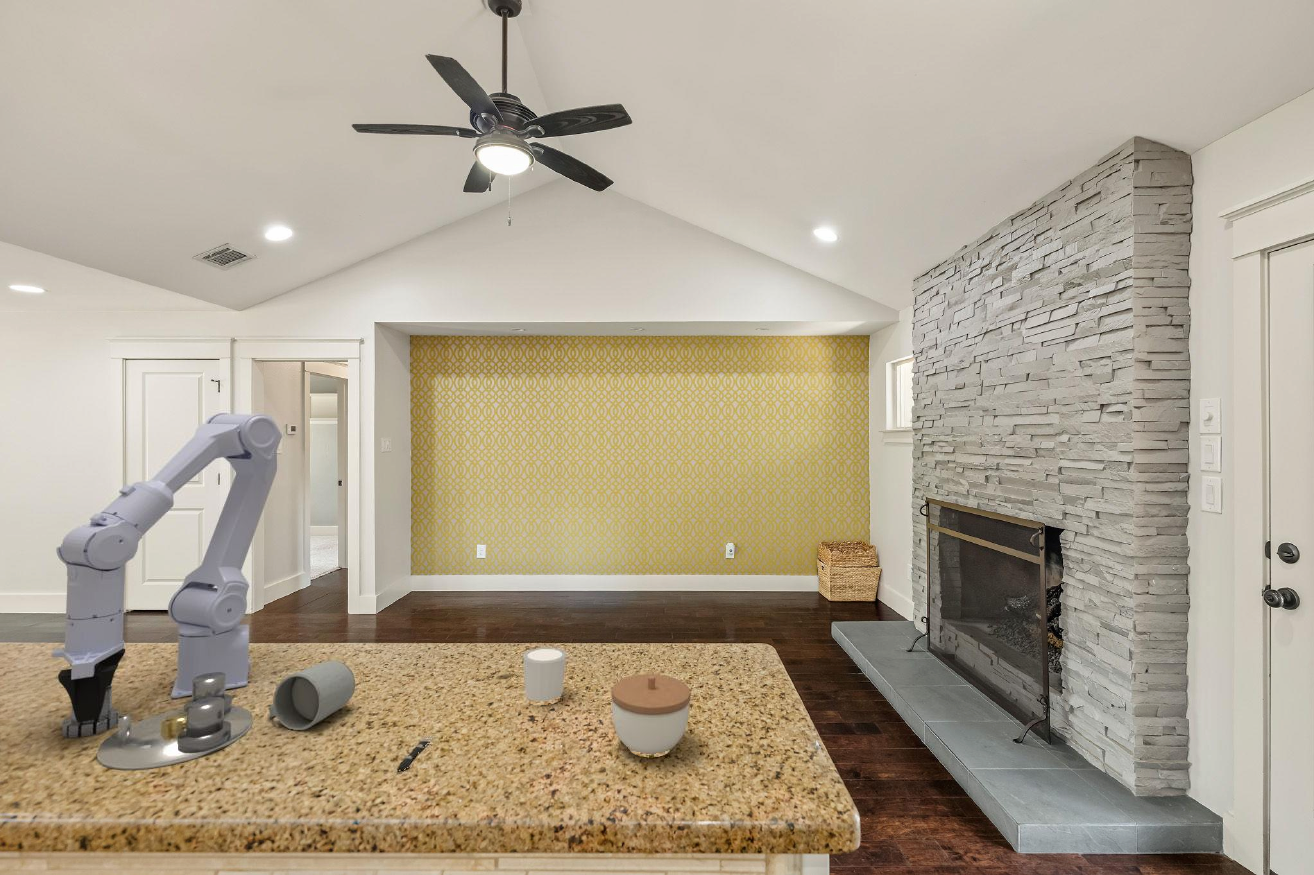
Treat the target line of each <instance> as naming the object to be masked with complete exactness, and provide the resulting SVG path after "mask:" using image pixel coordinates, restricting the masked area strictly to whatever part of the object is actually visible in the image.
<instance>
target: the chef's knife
mask: <svg viewBox="0 0 1314 875" xmlns="http://www.w3.org/2000/svg"><path fill="white" fill-rule="evenodd" d="M431 733H432V732H431ZM436 733H437V732H436ZM435 736H436V735H435ZM425 737H426V736H425ZM425 737H423V739H421V741H420V742H419V743H418V744H417V746H415V747H414V749H412V750H411V751H410V753H409V754H408V755H407V756H406V757H405V758H404V759H403V760H402V761H401V762H400V763H399V765H398V767H396V771H397V770H398V771H397V772H399V770H404V769H405V768H407V767H409V764H410V765H411V763H412V762H413V760H414V759H415V758H416V757H417V756H416V754H418V752H420V751H421V750H422V749H423V747H425V745H426V744H427V743H430V742H434V741H433V740H434V739H433V737H431V738H432V739H425ZM426 738H427V737H426ZM428 738H429V737H428ZM434 738H435V737H434ZM429 740H431V741H429ZM425 748H426V747H425ZM423 750H424V749H423ZM423 750H422V751H423ZM422 751H421V752H422ZM421 752H420V753H421ZM418 755H419V754H418ZM415 756H416V757H415ZM413 758H414V759H413ZM411 761H412V762H411ZM409 768H410V767H409ZM404 771H405V770H404Z"/></svg>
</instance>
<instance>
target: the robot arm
mask: <svg viewBox="0 0 1314 875" xmlns="http://www.w3.org/2000/svg"><path fill="white" fill-rule="evenodd" d="M282 437H283V434H282V432H281V431H280V429H279V427H278V425H277V424H276V422H275V420H274V419H273V418H272V417H270V416H269V415H267V414H263V413H254V414H244V413H243V414H239V413H238V414H237V413H235V414H233V413H225V412H220V413H218V412H217V413H215V414H213V415H212V416H210V417H208V419H207V420H206V421H205V423H203V424H200V425H199V426H198V427H197V428H196V430H195V433H194V436H193V437H192V438H191V439H190V440H189V441H187V443H186V444H185V445H184V446H183V447H182V448H181V449H180V450H179V451H178V452H177V453H176V454H175V455H174V456H173V457H172V458H171V459H170V460H169V461H168V463H166V464H165V465H164V466H163V467H162V468H161V470H159V471H158V472H157V473H156V474H155V475H154V476H153V477H152V478H151V479H150V480H148V481H143V480H142V481H136V482H134V483H133V484H132V485H127V484H126V485H125V486H122V488H121V489H120V490H118V492H119V494H120V495H119V496H118V497H117V498H115V499H114V500H113V501H112V502H111V503H110V504H109V505H108V506H107V507H105V508H104V509H103V510H102V511H101V512H100V513H94V515H92V516H91V517H90V518H89V519H90V522H89V524H83V525H81V526H77V527H75V528H74V529H72V530H70V531H69V532H68V533H67V534H66V535H65V537H63V540H62V543H61V545H60V546H57V547H56V549H55V550H56V554H57V557H58V559H59V560H60V562H62V563H63V564H65V566H66V576H67V580H66V581H67V582H66V604H65V605H66V608H65V628H64V629H65V631H64V632H65V633H64V634H65V636H64V647H58V648H55V649H54V650H52V652H51V658H52V659H53V658H55V659H56V658H57V659H58V658H63V660H65V661H66V662H67V664H69V665H70V667H71V668H67V669H66V668H65V669H61V670H60V671H59V673H58V674H57V680H58V682H59V683H60V684H61V686H62V687H64V689H65V691H66V692H67V694H68V696H69V699H70V702H71V708H72V707H73V711H74V715H75V718H76V720H77V722H78V723H79V722H85V721H90V720H96V719H98V718H99V716H100V714H101V711H102V707H103V703H104V699H105V694H106V690H107V687H108V685H111V686H112V682H113V680H114V676H115V673H116V671H117V669H118V667H119V663H120V661H121V660H122V658H123V657H124V656H125V654H126V648H125V640H124V638H123V637H124V636H123V635H124V616H125V614H124V610H125V584H126V583H125V581H126V563H128V562H129V561H131V560H133V558H134V557H135V555H136V554H137V552H138V550H139V549H138V547H139V542H140V540H141V539H142V538H143V537H144V535H145V534H146V533H147V532H149V530H150V529H152V528H153V527H154V525H156V523H158V522H159V521H160V520H161V519H162V517H164V516H165V515H166V514H167V513H168V512H169V511H170V510H171V509H172V508H173V506H174V503H175V502H174V500H175V499H174V494H175V493H177V492H178V491H179V490H181V488H182V487H184V486H185V485H186V484H187V483H188V482H190V481H191V480H192V479H194V477H196V476H197V475H198V474H199V473H201V472H202V471H203V470H204V469H205V468H206V467H208V466H209V465H210V464H211V463H212V462H213V461H215V460H216V459H222V458H223V459H225V461H227V463H228V462H229V464H230V466H231V468H232V469H233V470H234V471H235V472H234V473H235V475H234V478H233V481H232V484H231V486H230V489H229V490H228V491H229V492H228V494H227V496H226V499H225V502H224V505H223V507H222V509H221V513H220V515H219V517H218V520H217V523H216V525H215V528H214V531H213V534H212V536H211V537H210V538H211V539H210V541H209V544H208V546H207V549H206V552H205V554H204V558H203V560H202V562H201V565H200V566H198V567H197V568H195V569H194V570H192V571H191V572H190V573H188V574H187V575H186V576H185V577H184V580H183V582H182V585H181V586H180V587H179V588H178V590H177V591H176V592H174V594H173V595H172V597H171V598H170V600H169V602H168V605H167V614H168V616H169V618H170V619H171V621H173V622H174V623H176V630H177V631H178V638H177V639H178V640H177V641H178V642H177V665H176V666H177V670H176V671H177V672H176V678H175V679H174V683H173V687H172V691H171V695H170V698H171V699H177V698H183V697H188V696H192V680H193V679H194V678H195V677H197V676H200V675H203V674H207V673H213V672H222V673H225V674H226V682H225V690H228V689H234V688H239V687H240V688H241V687H246V686H247V685H248V676H249V675H248V674H249V672H248V671H249V670H251V657H249V650H250V648H249V646H250V645H249V644H250V625H249V624H240V622H241V621H242V620H243V618H244V616H245V614H246V612H247V608H248V602H247V600H248V599H247V597H248V596H247V594H248V591H249V588H250V583H249V582H248V580H247V579H246V577H245V576H244V574H243V573H242V569H243V567H244V564H245V560H246V558H247V555H248V553H249V549H250V547H251V543H252V541H253V538H254V536H255V533H256V530H257V527H258V525H259V522H260V519H261V516H262V513H263V511H264V508H265V505H266V502H267V500H268V497H269V494H270V492H271V488H272V486H273V483H274V480H275V478H276V474H277V471H278V448H279V446H280V444H281V440H282Z"/></svg>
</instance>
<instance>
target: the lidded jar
mask: <svg viewBox="0 0 1314 875" xmlns="http://www.w3.org/2000/svg"><path fill="white" fill-rule="evenodd" d="M691 695H692V694H691V689H690V688H689V686H688V685H687V684H686V683H685V682H684V681H682V680H680V679H677V678H676V677H671V676H668V675H663V674H654V673H653V674H652V673H651V674H650V673H649V674H648V673H647V674H646V673H642V674H634V675H629V676H626V677H623V678H621V679H619V680H617V681H616V682H615V684H613V686H612V687H611V700H612V702H611V714H612V721H613V726H614V730H615V732H616V734H617V736H618V738H619V740H620V741H621V742H622V743H623V744H624V746H626V748H627V747H628V748H629V749H631V750H633V751H636V752H641V753H647V754H656V753H662V752H665V751H668V750H670V749H671V750H672V749H673V748H674V747H675V746H676V745H678V743H679V742H680V741H681V739H682V738H683V736H684V734H685V732H686V729H687V725H688V721H689V716H690V702H691V697H692V696H691Z"/></svg>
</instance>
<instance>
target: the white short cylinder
mask: <svg viewBox="0 0 1314 875" xmlns="http://www.w3.org/2000/svg"><path fill="white" fill-rule="evenodd" d="M522 659H523V660H522V661H523V674H524V678H523V679H524V695H525V698H526V697H527V698H528V699H530V700H534V701H539V702H541V701H549V700H553V699H556V698H557V697H560V695H561V694H562V695H563V688H564V680H565V674H566V673H565V671H566V664H567V652H566V651H565V650H563V649H561V648H557V647H548V646H547V647H537V648H532V649H529V650H528V651H526V652H524V653H523V654H522Z"/></svg>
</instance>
